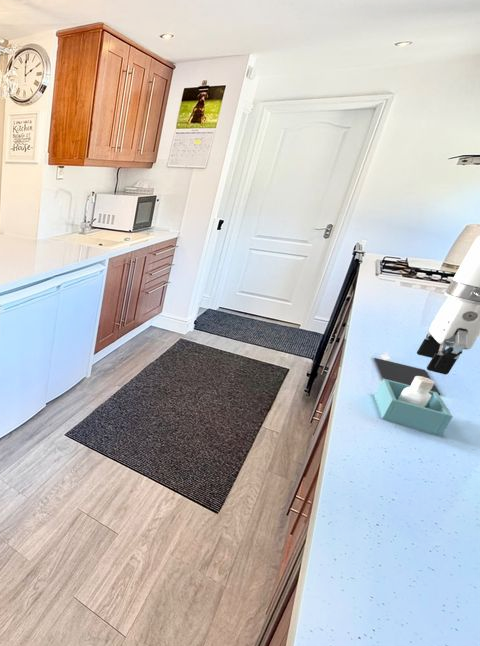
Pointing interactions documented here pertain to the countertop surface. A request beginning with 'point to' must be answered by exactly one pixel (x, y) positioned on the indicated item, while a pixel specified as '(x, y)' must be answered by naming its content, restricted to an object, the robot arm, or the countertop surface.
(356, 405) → the countertop surface
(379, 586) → the countertop surface
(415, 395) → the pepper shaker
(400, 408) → the bin
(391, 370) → the mat
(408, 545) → the countertop surface
